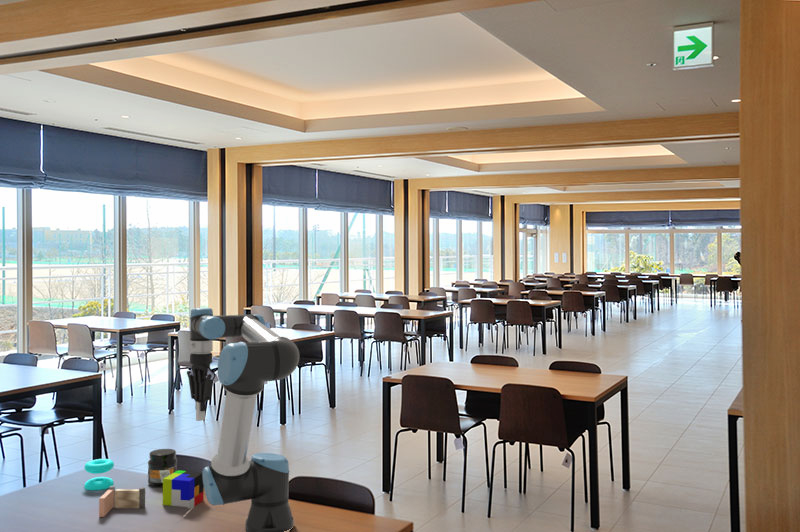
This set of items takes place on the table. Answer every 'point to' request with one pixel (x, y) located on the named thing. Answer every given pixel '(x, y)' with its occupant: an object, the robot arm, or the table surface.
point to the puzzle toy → (183, 489)
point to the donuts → (96, 468)
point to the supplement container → (161, 466)
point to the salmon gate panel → (107, 501)
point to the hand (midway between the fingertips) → (200, 420)
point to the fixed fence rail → (130, 498)
